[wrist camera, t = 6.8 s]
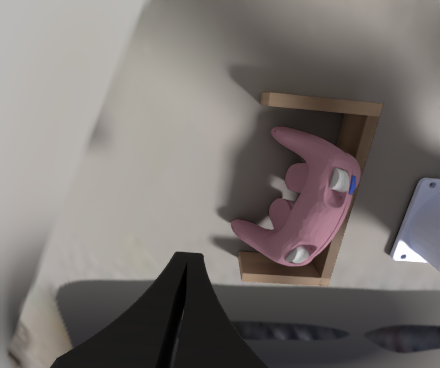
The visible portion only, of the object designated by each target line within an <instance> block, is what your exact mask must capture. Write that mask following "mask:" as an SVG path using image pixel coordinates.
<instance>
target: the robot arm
mask: <svg viewBox="0 0 440 368" xmlns="http://www.w3.org/2000/svg"><path fill="white" fill-rule="evenodd" d="M431 183H432V185H431V186H430V184H431ZM401 255H402V256H401ZM390 256H391V258H392V259H394V260H397V261H412V262H427V263H430V264H431V265H432V266H433V267H435V268H436V269H437V270H438V271H440V179H435V178H422V179H421V180H420V181H419V182H418V184H417V187H416V189H415V192H414V194H413V197H412V199H411V202H410V205H409V207H408V210H407V212H406V215H405V217H404V220H403V223H402V225H401V228H400V230H399V233H398V235H397V238H396V241H395V243H394V246H393V248H392V251H391V253H390ZM183 309H184V314H183ZM182 314H183V320H182V326H181V331H180V337H179V343H178V348H177V353H176V358H175V363H174V368H268V367H267V366H266V365H265V364H264V363H263V362H262V361H261V360H260V359H259V357H258V356H257V355H256V354H255V353H254V352H253V351H252V349H251V348H250V347H249V346H248V345H247V343H246V342H245V341H244V340H243V338H242V337H241V335H240V334H239V333H238V331H237V330H236V329H235V327H234V326H233V324H232V323H231V321H230V320H229V318H228V317H227V315H226V313H225V312H224V310H223V308H222V306H221V304H220V303H219V301H218V299H217V296H216V294H215V292H214V290H213V288H212V285H211V282H210V280H209V277H208V274H207V271H206V267H205V263H204V256H203V254H202V253H189V252H176V253H174V255H173V257H172V258H171V260H170V261H169V263H168V264H167V266H166V267H165V269H164V270H163V271H162V273H161V274H160V275H159V276H158V278H157V279H156V280H155V281H154V283H153V284H152V285H151V286H150V287H149V288H148V289H147V290H146V292H145V293H144V294H143V295H142V296H141V297H140V298H139V299H138V300H137V301H136V302H135V303H134V304H133V305H132V306H130V307H129V308H128V309H127V310H126V311H125V312H124V313H122V314H121V315H120V316H119V317H118V318H117V319H115V320H114V321H113V322H112V323H110V324H109V325H108V326H106V327H105V328H103V329H102V330H101V331H99V332H98V333H97V334H95V335H94V336H92V337H91V338H90V339H88V340H87V341H85V342H84V343H82V344H80V345H79V346H77V347H75V348H74V349H72V350H70V351H69V352H67V353H65V354H64V355H62V356H60V357H58V358H57V359H56V360H55V362H54V363H53V364H52V366H51V367H50V368H171V362H172V357H173V352H174V348H175V344H176V339H177V335H178V331H179V327H180V322H181V318H182Z"/></svg>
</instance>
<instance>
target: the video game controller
mask: <svg viewBox="0 0 440 368" xmlns="http://www.w3.org/2000/svg"><path fill="white" fill-rule="evenodd" d="M271 134H272V136H273V137H274V139H275V140H277V141H278V142H279V143H280V144H281V145H283V146H285V147H286V148H288V149H290V150H291V151H293V152H295V153H297V154H298V155H299V156H300V157H302V158H303V159H304V160H305V161H306V163H296V164H293V165H291V166H290V167H289V169H288V170H287V173H286V177H285V183H286V186H287V188H288V189H289V190H291V191H293V192H298V193H301V194H300V195H299V197H298V199H297V201H296V203H294V202H293V201H290V200H286V199H282V198H279V199H276V200H275V201H273V203H272V204H271V206H270V209H269V216H270V219H271V221H272V224H273V227H274V229H273V230H269V229H265V228H262V227H260V226H258V225H256V224H254V223H251V222H248V221H245V220H239V219H235V220H233V221H232V222H231V228H232V230H233V232H234V233H235V234H236V235H237V236H238V237H239V238H240V239H241V240H243V241H244V242H245V243H247V244H248V245H250V246H251V247H253V248H254V249H256V250H257V251H259V252H260V253H262V254H263V255H265V256H267V257H268V258H270V259H271V260H273V261H275V262H277V263H280V264H282V265H286V266H303V265H306V264H308V263H309V262H311V261H312V259H313V258H314V257H315V256H317V255H318V254H319V253H320V252H321V251H322V250H323V249H324V248H325V247H326V246H327V245H328V244H329V243H330V241H331V240H332V239H333V238H334V236H335V235H336V233H337V231H338V230H339V228H340V226H341V224H342V222H343V221H344V219H345V216H346V214H347V211H348V209H349V206H350V203H351V199H352V195H353V191H354V190H355V188H356V187H357V185H358V183H359V180H360V174H361V171H360V166H359V163H358V161H357V160H356V159H355V158H354V157H353V156H351V155H350V154H348V153H345V152H344V151H342V150H341V149H340V148H338V147H337V146H335V145H334V144H332V143H330V142H328V141H327V140H325V139H322V138H320V137H318V136H315V135H312V134H310V133H306V132H303V131H300V130H296V129H293V128H289V127H283V126H278V127H274V128H272V130H271Z"/></svg>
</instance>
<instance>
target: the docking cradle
mask: <svg viewBox="0 0 440 368" xmlns="http://www.w3.org/2000/svg"><path fill="white" fill-rule="evenodd" d="M260 104H263V105H267V106H275V107H285V108H296V109H306V110H316V111H327V112H337V113H344V117H343V121H342V125H341V129H340V133H339V137H338V141H337V145H336V146H337V147H338V148H340V149H341V150H342V151H344V152H345V153H348V154H350V155H351V156H353V157H354V158H355V159H356V160H357V161H358V163H359V166H360V171H361V174H360V180H361V176H362V173H363V170H364V167H365V163H366V160H367V157H368V153H369V150H370V147H371V143H372V140H373V137H374V134H375V130H376V127H377V124H378V120H379V117H380V114H381V110H382V107H383V104H382V103H372V102H362V101H352V100H342V99H332V98H322V97H312V96H302V95H292V94H282V93H272V92H262V93H261V101H260ZM360 180H359V183H360ZM359 183H358V185H357V187H356V188H355V190H354V191H353V195H352V199H351V203H350V206H349V209H348V211H347V214H346V216H345V219H344V221H343V222H342V224H341V226H340V228H339V230H338V231H337V233H336V235H335V236H334V238H333V239H332V240H331V241H330V243H329V244H328V245H327V246H326V247H325V248H324V249H323V250H322V251H321V252H320V253H319V254H318V255H317V256H315V257H314V258H313V259H312V261H311V262H309V263H308V264H306V265H303V266H286V265H282V264H280V263H277V262H275V261H273V260H271V259H270V258H268V257H267V256H265V255H263V254H262V253H260V252H245V251H239V257H238V260H239V267H240V274H241V281H247V282H263V283H280V284H296V285H313V286H328V285H329V282H330V279H331V275H332V272H333V269H334V265H335V262H336V259H337V256H338V252H339V249H340V246H341V242H342V239H343V236H344V232H345V229H346V226H347V223H348V219H349V216H350V213H351V209H352V206H353V203H354V200H355V196H356V193H357V190H358V186H359Z"/></svg>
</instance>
